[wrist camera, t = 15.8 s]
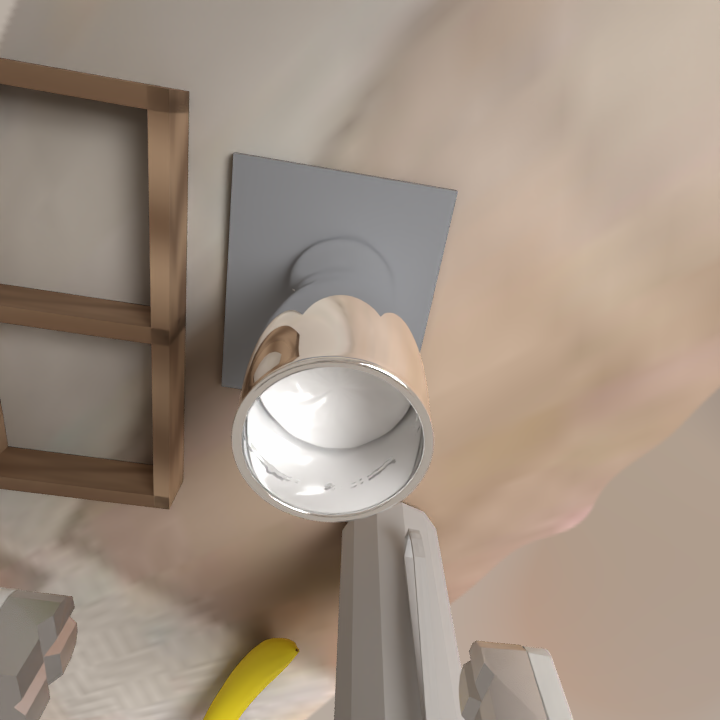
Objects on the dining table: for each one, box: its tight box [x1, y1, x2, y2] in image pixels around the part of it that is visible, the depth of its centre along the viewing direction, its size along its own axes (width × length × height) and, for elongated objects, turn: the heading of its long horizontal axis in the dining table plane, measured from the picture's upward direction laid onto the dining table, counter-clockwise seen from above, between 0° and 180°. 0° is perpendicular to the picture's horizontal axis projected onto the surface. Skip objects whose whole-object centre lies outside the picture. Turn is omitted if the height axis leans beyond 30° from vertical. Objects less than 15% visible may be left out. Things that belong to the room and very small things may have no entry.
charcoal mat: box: [222, 153, 458, 389], centre depth 30 cm, size 14×12×1 cm
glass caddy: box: [0, 58, 189, 509], centre depth 30 cm, size 25×13×3 cm, turn 171°
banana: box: [203, 638, 299, 720], centre depth 43 cm, size 3×19×6 cm, turn 149°
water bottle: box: [334, 502, 465, 720], centre depth 27 cm, size 9×8×25 cm
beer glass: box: [231, 239, 434, 522], centre depth 23 cm, size 7×7×15 cm
